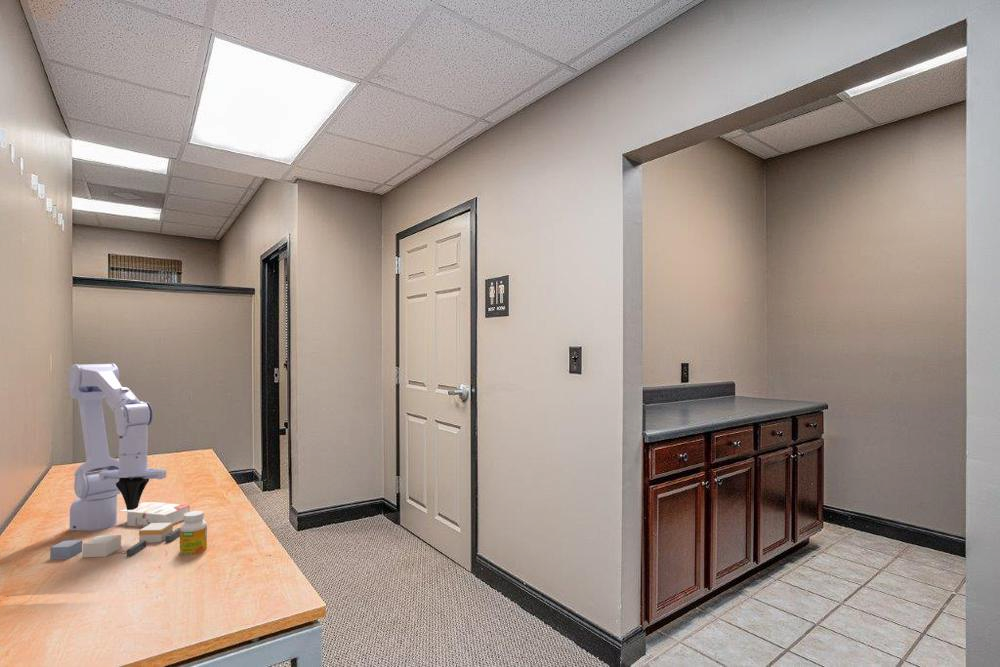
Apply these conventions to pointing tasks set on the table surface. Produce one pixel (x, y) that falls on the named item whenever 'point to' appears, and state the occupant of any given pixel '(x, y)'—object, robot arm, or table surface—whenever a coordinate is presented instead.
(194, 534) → the supplement bottle
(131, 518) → the ink cartridge box
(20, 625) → the table surface
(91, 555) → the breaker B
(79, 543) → the gray cube
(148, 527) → the block
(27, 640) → the table surface
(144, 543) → the panel
